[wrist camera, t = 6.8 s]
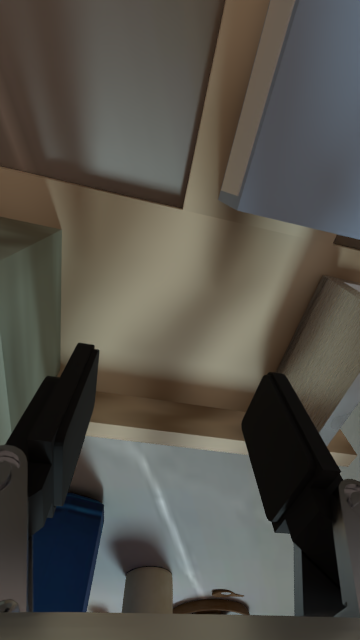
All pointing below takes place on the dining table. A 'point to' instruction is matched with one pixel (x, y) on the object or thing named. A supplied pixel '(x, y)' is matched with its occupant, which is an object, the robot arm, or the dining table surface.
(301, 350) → the bookend
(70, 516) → the blue volume
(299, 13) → the blue-grey rectangular block
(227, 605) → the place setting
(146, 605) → the candle
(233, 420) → the wooden platform
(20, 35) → the dining table surface
